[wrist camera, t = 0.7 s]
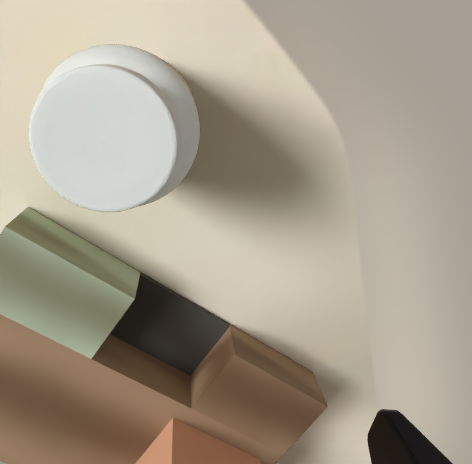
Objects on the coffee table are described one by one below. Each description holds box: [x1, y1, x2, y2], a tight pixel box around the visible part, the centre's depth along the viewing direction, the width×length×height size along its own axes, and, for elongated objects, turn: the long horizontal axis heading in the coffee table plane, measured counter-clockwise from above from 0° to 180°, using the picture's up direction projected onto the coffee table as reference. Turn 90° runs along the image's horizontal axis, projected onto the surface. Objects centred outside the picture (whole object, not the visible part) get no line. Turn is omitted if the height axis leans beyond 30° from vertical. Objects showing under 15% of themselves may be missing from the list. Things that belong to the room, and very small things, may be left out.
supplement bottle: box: [29, 44, 200, 212], centre depth 16 cm, size 5×5×10 cm
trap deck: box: [0, 207, 327, 464], centre depth 25 cm, size 16×19×3 cm
